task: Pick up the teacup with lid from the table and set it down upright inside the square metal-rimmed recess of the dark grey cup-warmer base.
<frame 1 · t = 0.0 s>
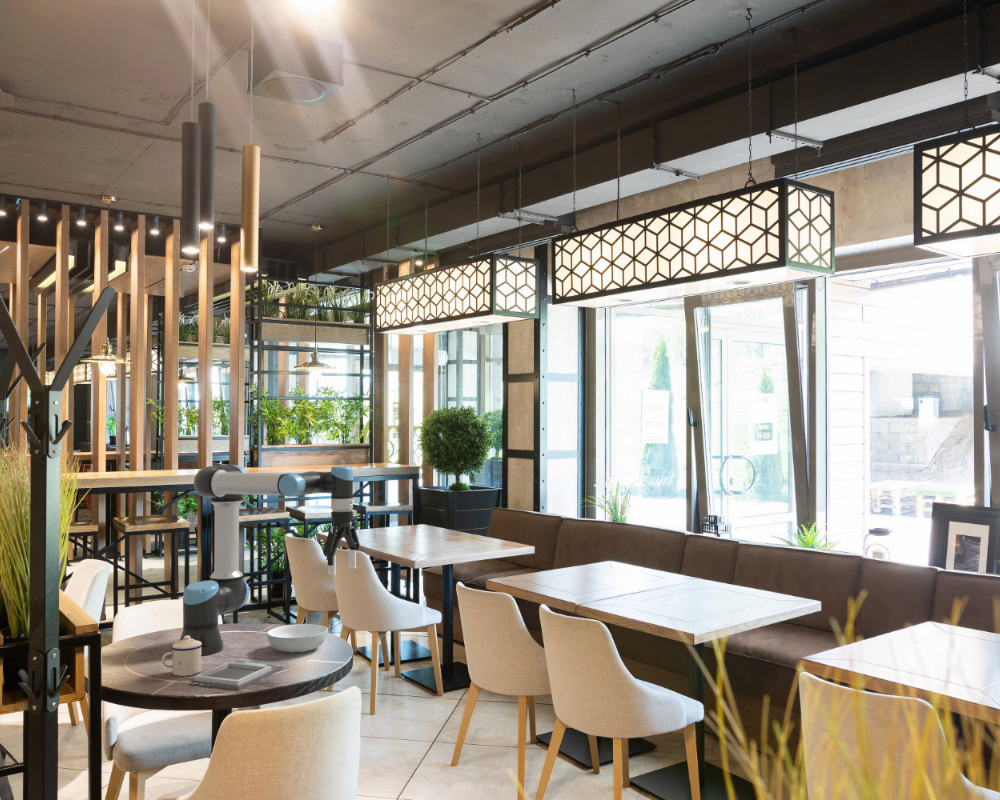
hand: (342, 571, 283), 28 cm above the table, tool pointing down, fingers open, 13 cm apart
serving bowl: (297, 650, 286), on the table
teacup with lid: (182, 674, 259), on the table
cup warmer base: (237, 676, 255), on the table
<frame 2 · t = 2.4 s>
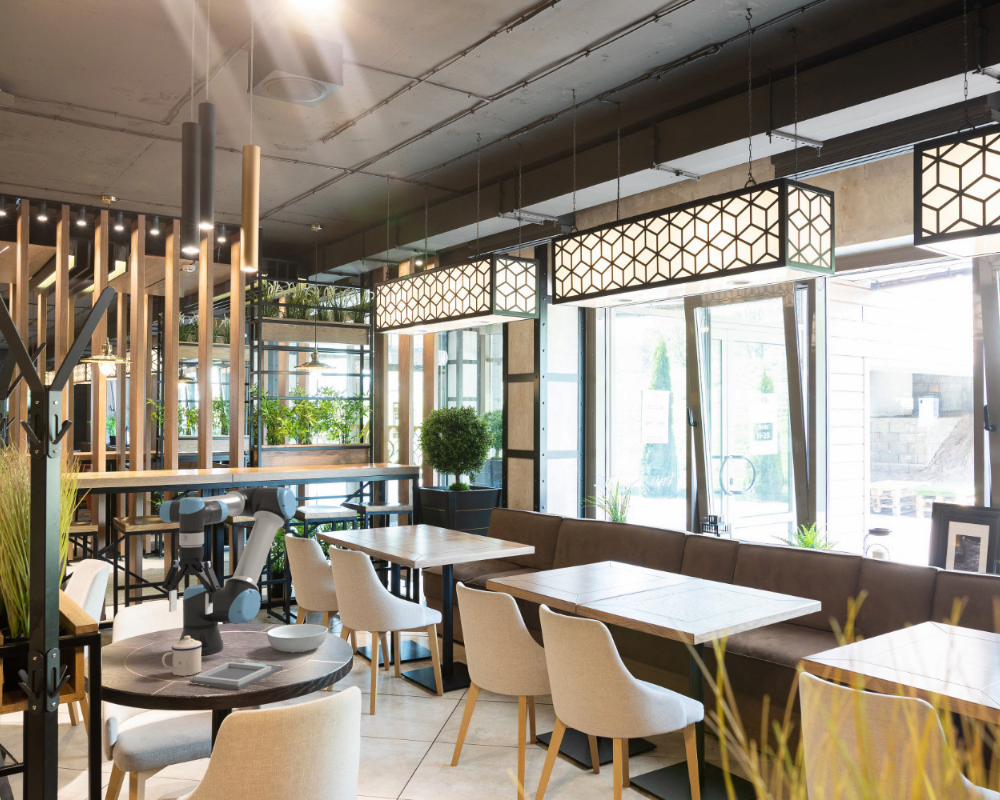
hand: (190, 612, 260), 19 cm above the table, tool pointing down, fingers open, 13 cm apart
nothing on the table moved.
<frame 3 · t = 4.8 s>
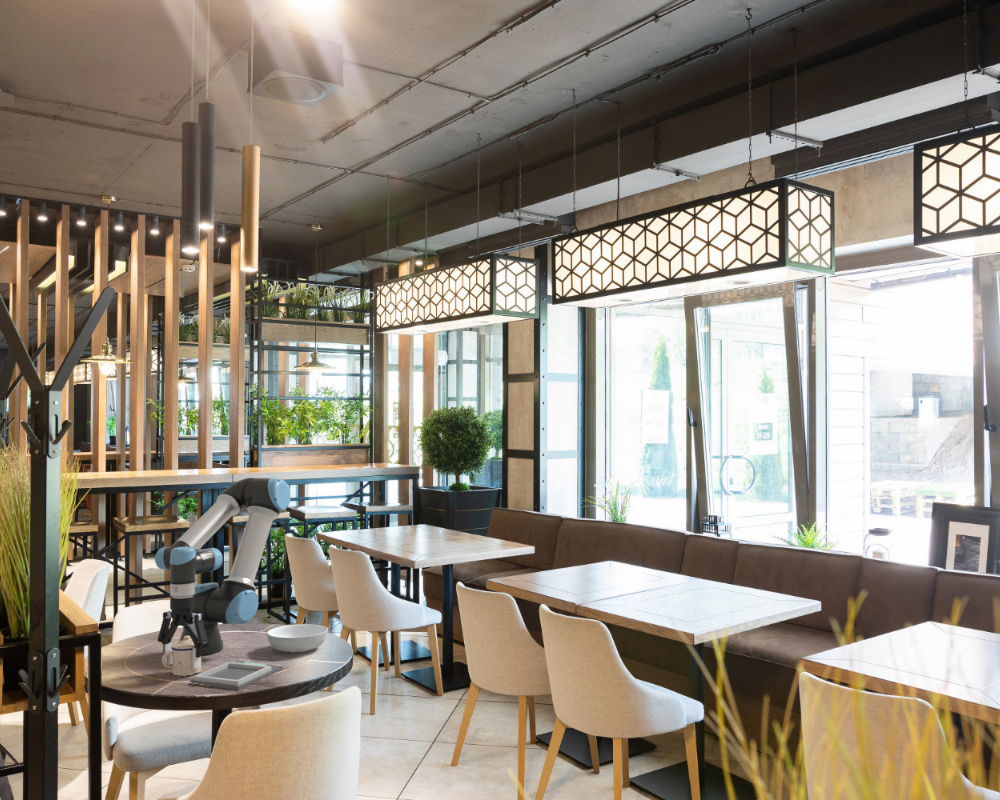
hand: (182, 665, 259), 2 cm above the table, tool pointing down, fingers open, 10 cm apart
teacup with lid: (181, 674, 259), on the table, touching gripper
everything else where it was.
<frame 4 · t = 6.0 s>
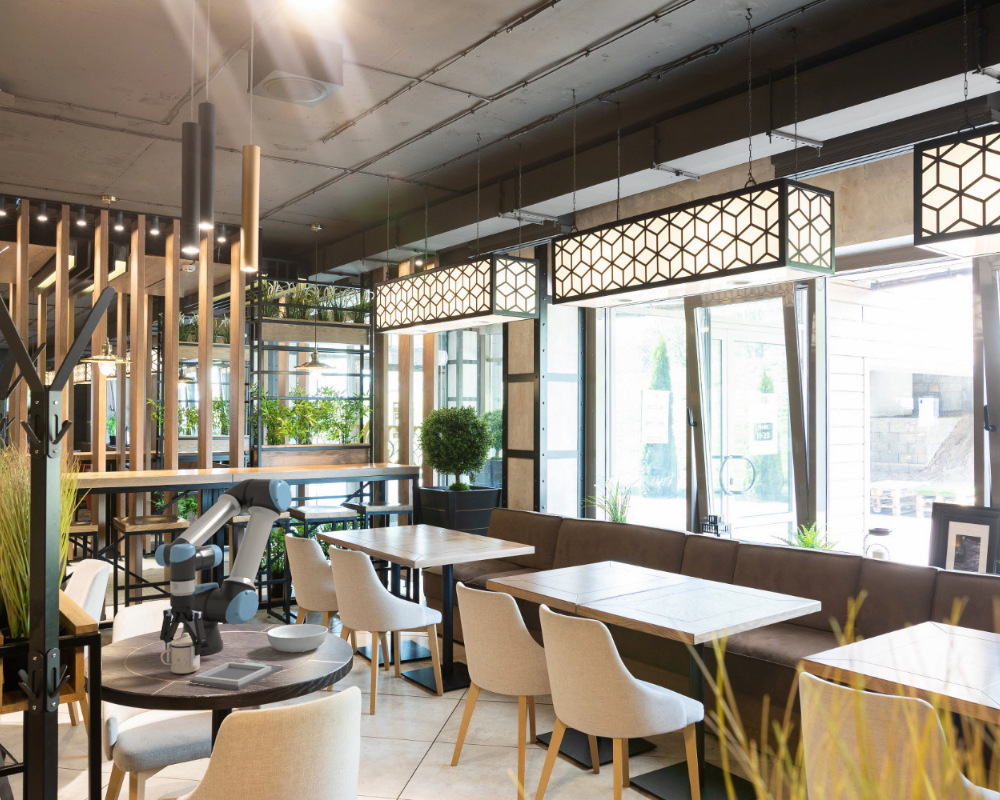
hand: (182, 663, 259), 3 cm above the table, tool pointing down, fingers closed on teacup with lid, 9 cm apart
teacup with lid: (180, 671, 260), point 1 cm above the table, touching gripper
everything else where it was.
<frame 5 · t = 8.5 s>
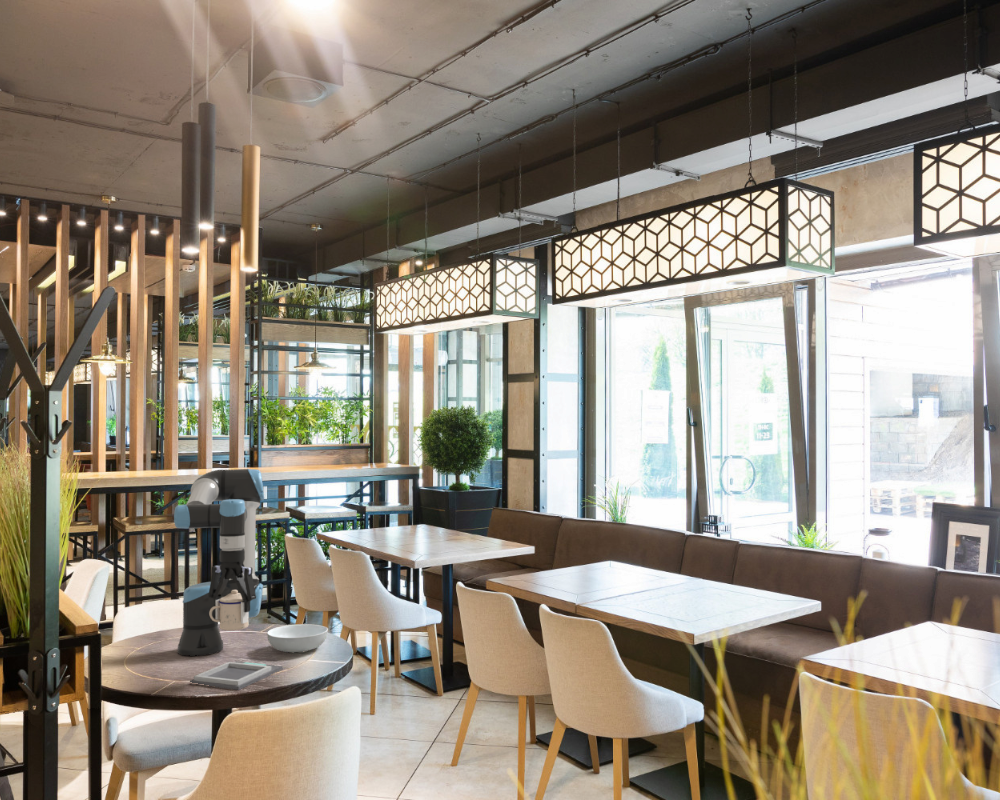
hand: (231, 621, 254), 18 cm above the table, tool pointing down, fingers closed on teacup with lid, 9 cm apart
teacup with lid: (229, 628, 254), point 15 cm above the table, touching gripper
everything else where it was.
when the fingers open (4 cm above the table, at t = 11.1 s): teacup with lid drops 1 cm, resting on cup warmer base.
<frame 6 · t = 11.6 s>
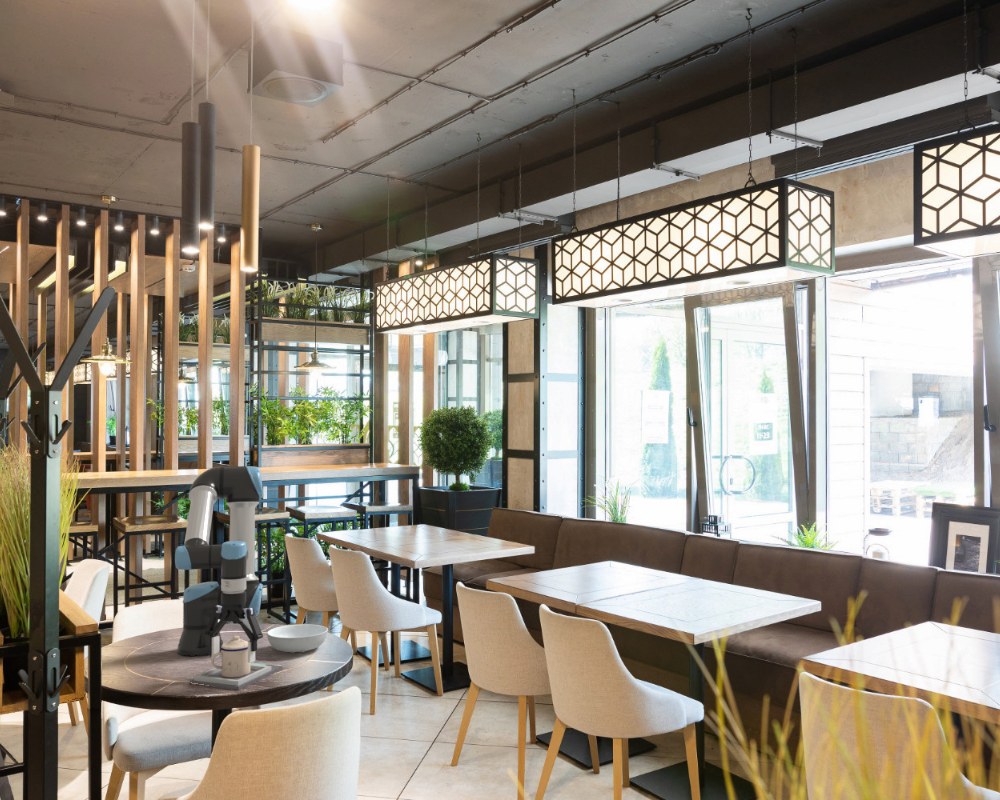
hand: (233, 659, 253), 6 cm above the table, tool pointing down, fingers open, 13 cm apart
teacup with lid: (231, 675, 254), point 1 cm above the table, touching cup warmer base
everything else where it was.
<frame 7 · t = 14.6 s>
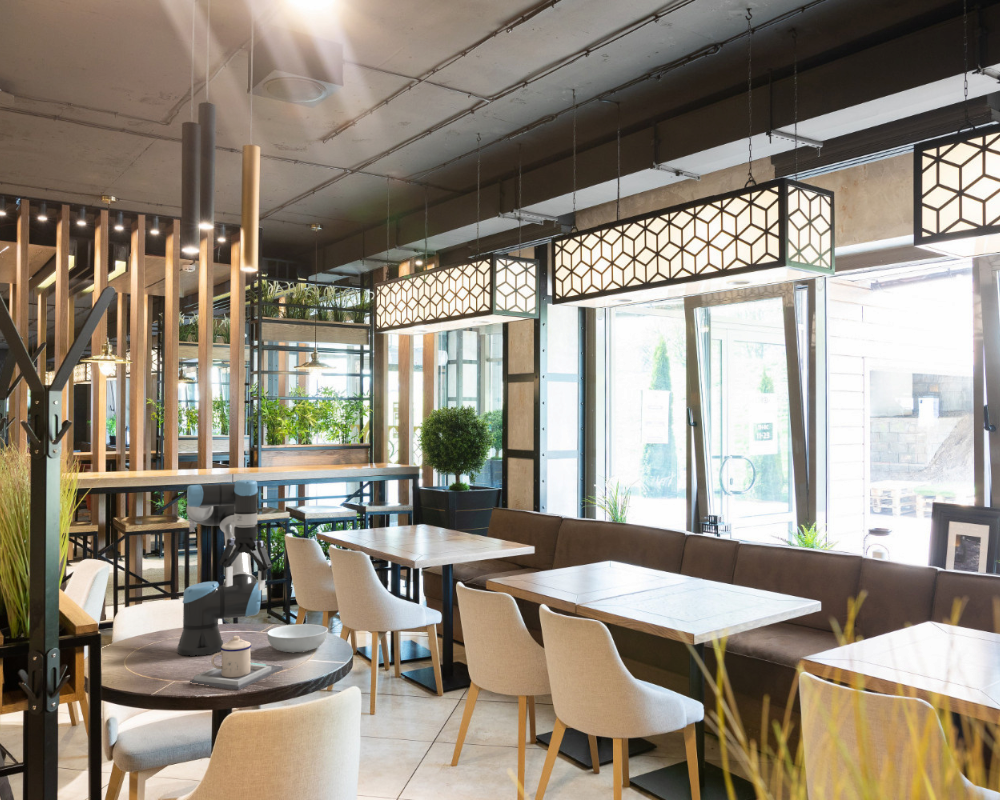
hand: (245, 587, 276), 24 cm above the table, tool pointing down, fingers open, 13 cm apart
nothing on the table moved.
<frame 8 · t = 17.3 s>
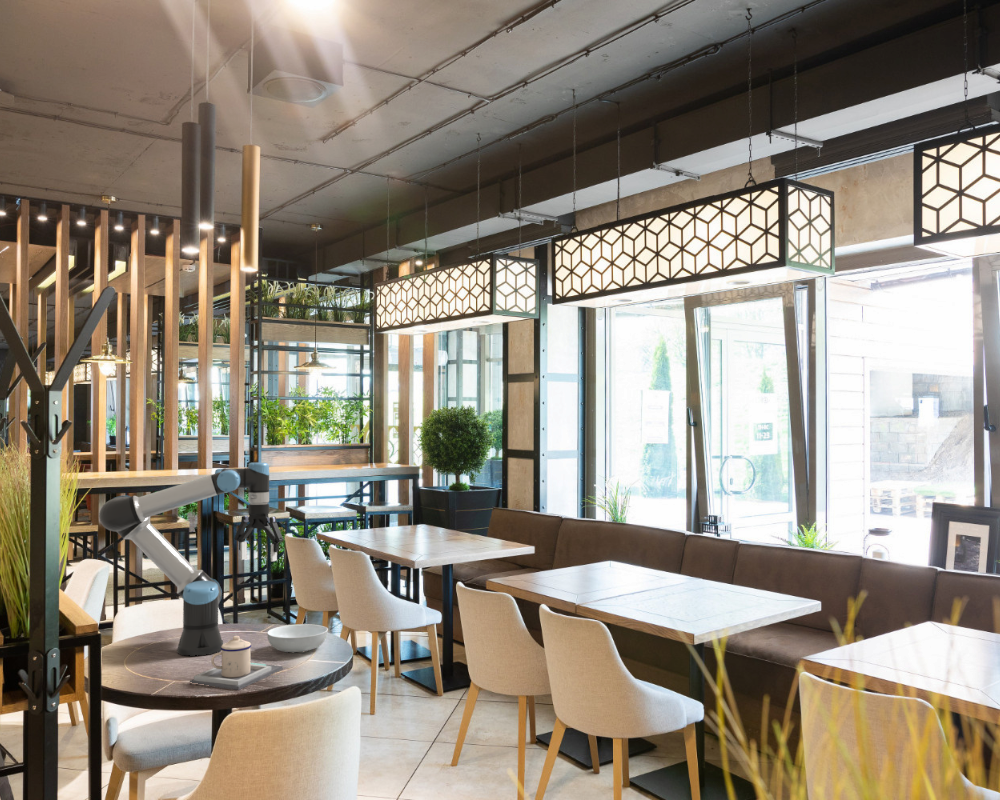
hand: (258, 560, 305), 29 cm above the table, tool pointing down, fingers open, 13 cm apart
nothing on the table moved.
at the end: teacup with lid 0.9 cm from the target spot on the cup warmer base, point 0.8 cm above the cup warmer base's base; teacup with lid tilted 0°; the gripper is holding nothing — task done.
